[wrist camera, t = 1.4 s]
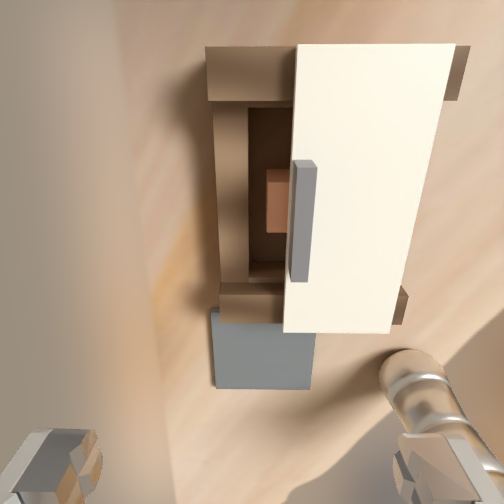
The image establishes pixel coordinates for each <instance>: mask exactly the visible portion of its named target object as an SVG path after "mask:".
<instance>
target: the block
mask: <svg viewBox="0 0 504 504" xmlns="http://www.w3.org/2000/svg"><path fill="white" fill-rule="evenodd" d="M289 181H290V169H266V225H267V233H287V222H288V202H289Z"/></svg>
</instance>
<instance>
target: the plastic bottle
mask: <svg viewBox="0 0 504 504" xmlns="http://www.w3.org/2000/svg"><path fill="white" fill-rule="evenodd" d="M379 380H380V385H381V389H382V392H383V393H384V395H385V397H386V398H387V400H388V402H389V403H390V405H391V406H392V407H393V409H394V410H395V411H396V413H397V415H398V417H399V418H400V420H401V422H402V424H403V426H404V428H405V429H406V431H407V433H408V434H421V433H438V434H461V435H462V436H463V437H465V438H466V440H467V441H468V443H469V445H470V446H471V448H472V449H473V451H474V453H475V454H476V456H477V457H478V459H479V461H480V462H481V464H482V465H483V467H484V469H485V470H486V472H487V473H488V475H489V477H490V478H491V480H492V481H493V483H494V485H495V486H496V488H497V489H498V491H499V493H500V494H501V496H502V497H503V499H504V466H503V465H502V463H501V462H500V461H499V460H498V459H497V458H496V456H495V455H494V454H493V453H492V452H491V451H490V449H489V448H488V447H487V445H486V444H485V442H484V441H483V440H482V438H481V437H480V436H479V434H478V432H477V431H476V430H475V429H474V427H473V426H472V424H471V423H470V421H469V420H468V419H467V417H466V415H465V413H464V411H463V410H462V408H461V406H460V404H459V402H458V400H457V398H456V397H455V395H454V393H453V391H452V387H451V385H450V382H449V380H448V378H447V375H446V373H445V371H444V369H443V368H442V366H441V365H440V364H439V363H438V362H437V361H436V360H435V359H434V358H433V357H432V356H430V355H429V354H427V353H424V352H421V351H418V350H410V349H409V350H402V351H399V352H396V353H394V354H392V355H390V356H389V357H388V358H387V359H386V360H385V361H384V362H383V364H382V366H381V369H380V371H379Z"/></svg>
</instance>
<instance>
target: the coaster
mask: <svg viewBox="0 0 504 504" xmlns="http://www.w3.org/2000/svg"><path fill="white" fill-rule="evenodd" d="M211 325H212V339H213V353H214V368H215V382H216V389H274V390H310V384H311V374H312V365H313V356H314V346H315V337H316V333H283V325H282V324H265V323H220V308H211Z"/></svg>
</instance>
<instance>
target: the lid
mask: <svg viewBox="0 0 504 504" xmlns="http://www.w3.org/2000/svg"><path fill="white" fill-rule="evenodd" d="M455 46H456V44H298V45H297V46H296V58H295V79H294V99H293V120H292V140H291V161H290V181H289V202H288V222H287V242H286V263H285V283H284V304H283V324H282V325H283V333H389V332H390V328H391V324H392V319H393V315H394V311H395V306H396V302H397V298H398V293H399V289H400V285H401V280H402V276H403V272H404V267H405V263H406V259H407V254H408V250H409V246H410V241H411V237H412V233H413V228H414V224H415V220H416V215H417V211H418V207H419V202H420V198H421V194H422V189H423V185H424V181H425V176H426V172H427V168H428V163H429V159H430V155H431V150H432V146H433V142H434V137H435V133H436V129H437V124H438V120H439V116H440V111H441V107H442V103H443V98H444V94H445V90H446V85H447V81H448V77H449V72H450V68H451V64H452V59H453V55H454V51H455Z"/></svg>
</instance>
